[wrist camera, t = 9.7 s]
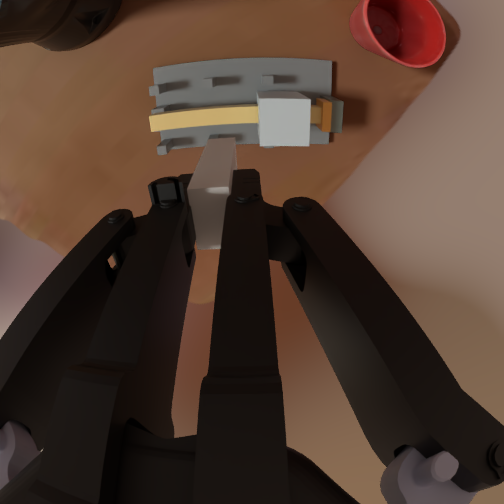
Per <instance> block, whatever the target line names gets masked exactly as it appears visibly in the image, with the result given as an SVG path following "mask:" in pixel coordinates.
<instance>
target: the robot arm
mask: <svg viewBox="0 0 504 504" xmlns="http://www.w3.org/2000/svg"><path fill="white" fill-rule="evenodd" d="M121 1H122V0H0V47H4V46H9V45H15V44H22V43H29V42H33V43H35V44H37V45H39V46H42V47H43V48H45V49H47V50H51V51H69V50H74V49H78V48H80V47H83V46H85V45H86V44H88V43H90V42H91V41H93V40H94V39H95V38H97V37H98V36H99V35H100V34H101V33H102V32H103V31H104V30H105V29H106V28H107V27H108V25H109V24H110V23H111V21H112V20H113V18H114V17H115V15H116V13H117V11H118V9H119V7H120V4H121ZM148 189H149V193H150V197H151V202H152V207H151V208H150V210H149V212H148V214H147V215H143V216H140V217H136V218H134V217H133V214H132V212H131V211H130V210H128V209H118V210H114V211H112V212H111V213H109V214H107V215H106V216H105V217H103V218H102V219H101V220H100V221H99V222H98V223H97V224H96V225H95V226H94V227H93V228H92V229H91V230H90V231H89V232H88V233H87V234H86V235H85V236H84V237H83V238H82V240H81V241H80V242H79V243H78V244H77V245H76V246H75V247H74V248H73V249H72V250H71V251H70V252H69V253H68V254H67V256H66V257H65V258H64V259H63V260H62V261H61V262H60V263H59V265H58V266H57V267H56V268H55V269H54V270H53V271H52V272H51V274H50V275H49V276H48V277H47V278H46V280H45V281H44V282H43V283H42V284H41V286H40V287H39V288H38V289H37V291H36V292H35V293H34V294H33V296H32V297H31V298H30V299H29V301H28V302H27V303H26V304H25V306H24V307H23V309H22V310H21V311H20V312H19V314H18V315H17V316H16V318H15V319H14V321H13V322H12V323H11V325H10V326H9V328H8V329H7V331H6V332H5V333H4V335H3V337H2V338H1V339H0V504H360V503H359V502H357V501H356V500H355V499H354V498H353V497H351V496H350V495H349V494H348V493H347V492H345V491H344V490H343V489H342V488H341V487H340V486H339V485H338V484H337V483H335V482H334V481H333V480H332V479H331V478H330V477H329V476H328V475H327V474H325V473H324V472H323V471H322V470H321V469H320V468H319V467H318V466H317V465H316V464H315V463H314V462H312V461H311V460H310V459H309V458H307V457H306V456H304V455H303V454H301V453H299V452H297V451H296V450H294V449H292V448H289V447H287V446H286V432H285V417H284V405H283V391H282V382H281V376H280V374H279V369H278V358H277V345H276V333H275V321H274V309H273V298H272V287H271V277H270V265H269V259H270V260H276V261H281V264H282V268H283V270H284V272H285V274H286V276H287V278H288V279H289V282H290V284H291V286H292V288H293V290H294V292H295V293H296V295H297V298H298V299H299V301H300V303H301V305H302V307H303V309H304V311H305V313H306V315H307V317H308V319H309V321H310V323H311V325H312V327H313V329H314V331H315V333H316V335H317V337H318V339H319V341H320V343H321V345H322V347H323V349H324V351H325V353H326V355H327V357H328V360H329V362H330V364H331V365H332V367H333V370H334V372H335V373H336V376H337V378H338V380H339V382H340V384H341V386H342V388H343V390H344V392H345V394H346V397H347V398H348V401H349V403H350V405H351V407H352V409H353V411H354V413H355V415H356V417H357V420H358V422H359V424H360V426H361V428H362V430H363V432H364V434H365V436H366V438H367V440H368V442H369V444H370V445H371V447H372V449H373V450H374V452H375V453H376V455H377V456H378V457H379V459H380V460H381V461H382V463H383V464H384V465H385V466H386V467H387V468H386V469H385V471H384V472H383V475H382V477H381V483H380V487H381V492H382V494H383V496H384V498H385V500H386V501H387V503H388V504H469V503H470V501H471V500H472V499H473V497H474V496H475V494H476V493H477V492H478V491H480V490H484V489H487V488H490V487H493V486H496V485H498V484H500V483H502V482H503V481H504V426H503V425H502V424H501V423H500V422H499V421H497V420H496V419H495V418H494V417H493V416H492V415H491V414H490V413H488V412H487V411H486V410H485V409H484V408H483V407H481V406H480V405H479V404H478V403H477V402H476V401H475V400H474V399H472V398H471V397H470V396H469V395H468V394H467V393H466V392H464V391H463V390H462V389H461V387H460V386H459V384H458V382H457V381H456V379H455V378H454V376H453V374H452V373H451V371H450V370H449V368H448V367H447V365H446V364H445V362H444V361H443V359H442V357H441V356H440V354H439V353H438V352H437V350H436V349H435V347H434V346H433V344H432V343H431V341H430V340H429V339H428V337H427V336H426V334H425V333H424V331H423V330H422V329H421V327H420V326H419V324H418V323H417V322H416V320H415V319H414V317H413V316H412V315H411V313H410V312H409V311H408V309H407V308H406V307H405V305H404V304H403V303H402V301H401V300H400V299H399V297H398V296H397V295H396V293H395V292H394V291H393V290H392V288H391V287H390V286H389V285H388V284H387V282H386V281H385V279H384V278H383V277H382V276H381V275H380V273H379V272H378V271H377V270H376V268H375V267H374V266H373V265H372V263H371V262H370V261H369V260H368V259H367V257H366V256H365V255H364V254H363V253H362V251H361V250H360V249H359V248H358V247H357V246H356V245H355V243H354V242H353V241H352V240H351V239H350V238H349V236H348V235H347V234H346V233H345V232H344V230H343V229H342V228H341V227H340V226H339V225H338V224H337V223H336V221H335V220H334V219H333V218H332V217H331V216H330V215H329V214H328V213H327V212H326V210H325V209H324V208H323V207H322V206H321V205H320V204H319V203H318V202H316V201H315V200H312V199H310V198H307V197H305V198H304V197H294V198H290V199H288V200H286V201H285V202H284V204H283V207H278V206H273V205H270V204H268V203H266V202H265V201H264V200H263V197H262V194H261V184H260V175H259V172H258V171H256V170H255V169H240V170H237V159H236V144H235V137H233V138H218V139H208V141H207V144H206V146H205V148H204V150H203V153H202V155H201V157H200V159H199V162H198V164H197V166H196V169H195V171H194V173H193V174H182V175H180V176H179V177H164V178H160V179H157V180H155V181H153V182H151V183H150V184H149V185H148ZM195 240H196V243H197V249H198V250H201V249H220V256H219V265H218V274H217V283H216V293H215V303H214V313H213V324H212V334H211V345H210V358H209V368H208V374H207V376H205V377H204V378H203V380H202V383H201V390H200V398H199V411H198V425H197V435H191V436H185V437H179V438H174V426H173V422H172V418H171V408H172V399H173V392H174V385H175V377H176V370H177V363H178V356H179V350H180V343H181V336H182V330H183V325H184V319H185V313H186V307H187V302H188V296H189V291H190V285H191V280H192V275H193V270H194V265H195V260H196V253H195V248H194V245H195ZM111 255H112V256H113V258H114V261H115V263H116V265H115V266H114V267H113V268H111V267H110V265H109V262H108V259H109V258H110V256H111ZM42 449H43V451H42V452H40V451H41V450H42Z"/></svg>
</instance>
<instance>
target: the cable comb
mask: <svg viewBox="0 0 504 504" xmlns="http://www.w3.org/2000/svg"><path fill="white" fill-rule="evenodd" d="M153 75H154V86H150V87H149V93H150V96H153V95H156V103H157V107H156V108H154V109H152V110H151V111H152V115H150V116H149V120H150V127H151V132H153V131H154V132H158V131H160V134H161V141H162V142H161V143H160V144H159V145H158V146H157V151H158V155H165V154H167V153H168V152H169V151H170V150H171V149H179V148H189V147H201V146H206V144H207V141H208V139H218V138H233V137H235V144H260V142H259V134H258V104H257V91H296V92H299V93H301V94H302V95H304V96H306V97H308V98H309V99H311V109H310V137H309V144H329V132H333V133H342V119H343V103H344V101H342V100H339V99H337V98H335V97H333V96H331V84H332V61H326V60H314V59H299V58H236V59H221V60H209V61H199V62H191V63H183V64H176V65H170V66H164V67H158V68H153ZM264 148H274V146H264Z"/></svg>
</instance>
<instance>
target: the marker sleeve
mask: <svg viewBox="0 0 504 504" xmlns="http://www.w3.org/2000/svg"><path fill="white" fill-rule="evenodd" d="M257 104H258V134H259V142H260V146H309V137H310V109H311V99H309V98H308V97H306V96H304V95H302V94H301V93H299V92H296V91H257Z"/></svg>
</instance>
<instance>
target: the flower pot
mask: <svg viewBox="0 0 504 504" xmlns="http://www.w3.org/2000/svg"><path fill="white" fill-rule="evenodd" d="M349 25H350V30H351V33H352V35H353V37H354V39H355V40H356V41H357V42H358V44H360V45H361V46H362V47H363V48H365V49H366V50H368V51H370V52H373V53H375V54H377V55H380V56H382V57H384V58H387V59H389V60H391V61H394V62H396V63H399V64H401V65H404V66H407V67H412V68H424V67H428V66H431V65H433V64H434V63H436V62H437V61H438V60H439V59H440V57H441V56H442V54H443V52H444V49H445V45H446V32H445V27H444V24H443V21H442V18H441V16H440V14H439V12H438V11H437V9H436V8H435V6H434V5H433V4H432V3H431V2H430V1H429V0H361V1H360V3H359V4H358V5H357V6H356V8H355V9H354V11H353V13H352V14H351V17H350V21H349Z"/></svg>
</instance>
